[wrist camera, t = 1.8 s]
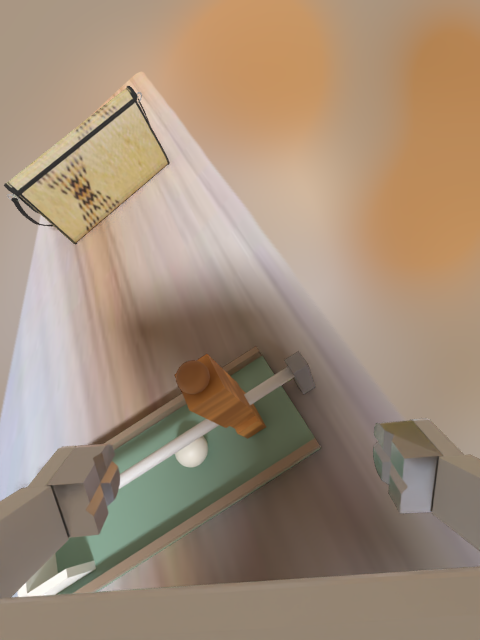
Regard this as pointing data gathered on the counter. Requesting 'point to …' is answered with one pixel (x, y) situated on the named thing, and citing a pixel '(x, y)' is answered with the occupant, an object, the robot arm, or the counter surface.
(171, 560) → the counter surface
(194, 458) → the ball
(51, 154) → the clutch purse
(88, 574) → the pitch
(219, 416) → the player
